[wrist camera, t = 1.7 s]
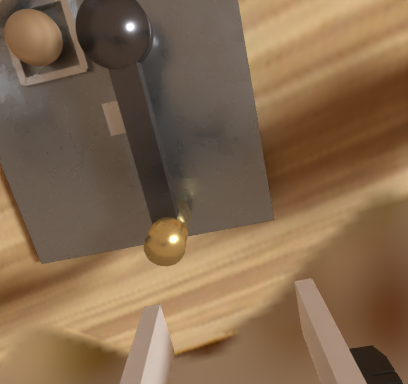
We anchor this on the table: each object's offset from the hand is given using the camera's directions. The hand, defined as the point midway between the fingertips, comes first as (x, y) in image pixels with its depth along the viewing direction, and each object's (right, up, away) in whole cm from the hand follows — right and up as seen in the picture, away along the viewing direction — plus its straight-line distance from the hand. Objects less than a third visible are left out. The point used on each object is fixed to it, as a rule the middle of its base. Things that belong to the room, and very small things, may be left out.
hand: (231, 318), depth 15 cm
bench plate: (-9, +13, +16) cm, 23 cm away
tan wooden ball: (-14, +18, +12) cm, 26 cm away
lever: (-6, +11, +13) cm, 18 cm away
